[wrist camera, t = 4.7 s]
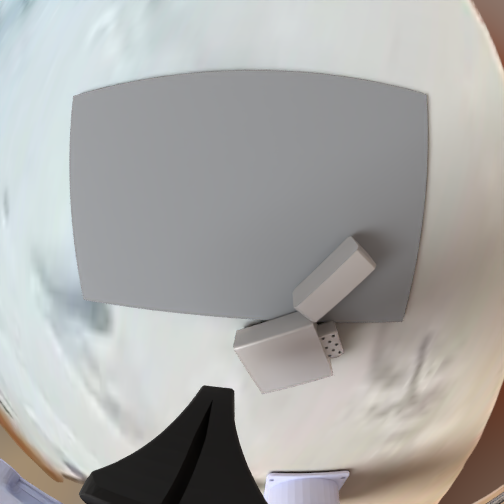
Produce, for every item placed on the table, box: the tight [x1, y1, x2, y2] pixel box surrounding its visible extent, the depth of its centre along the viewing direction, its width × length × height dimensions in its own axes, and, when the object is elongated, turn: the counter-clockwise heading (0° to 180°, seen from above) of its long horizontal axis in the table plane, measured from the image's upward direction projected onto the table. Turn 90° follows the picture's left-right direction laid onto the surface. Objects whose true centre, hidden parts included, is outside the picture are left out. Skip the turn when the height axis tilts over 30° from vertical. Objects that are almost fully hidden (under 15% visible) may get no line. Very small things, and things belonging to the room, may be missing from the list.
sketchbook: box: [486, 492, 504, 504], centre depth 32 cm, size 22×30×2 cm
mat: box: [70, 70, 428, 322], centre depth 14 cm, size 13×20×1 cm, turn 89°
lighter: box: [233, 236, 376, 394], centre depth 14 cm, size 7×2×8 cm
